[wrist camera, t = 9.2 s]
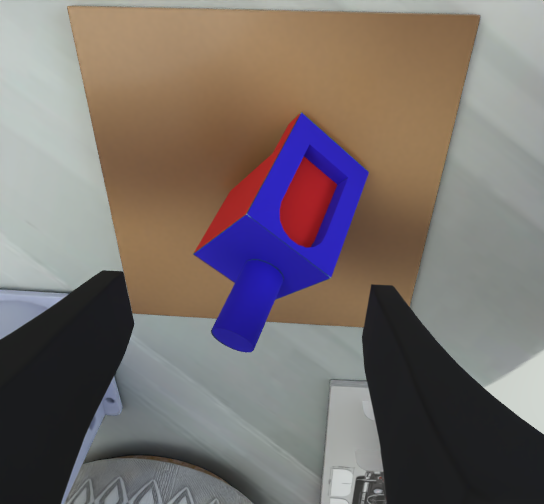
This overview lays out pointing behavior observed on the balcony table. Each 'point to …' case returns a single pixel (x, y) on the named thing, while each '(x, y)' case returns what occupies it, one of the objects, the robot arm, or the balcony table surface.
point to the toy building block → (281, 228)
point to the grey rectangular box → (352, 448)
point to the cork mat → (267, 136)
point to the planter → (150, 483)
